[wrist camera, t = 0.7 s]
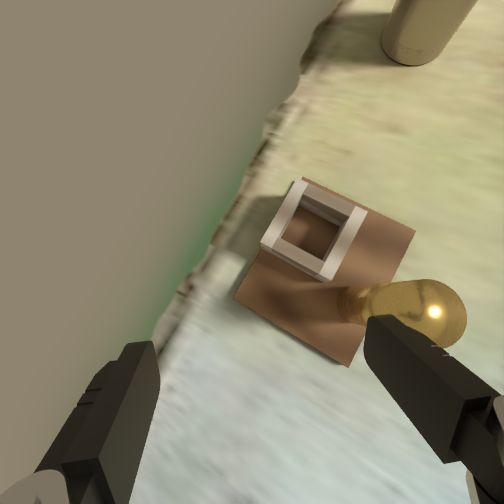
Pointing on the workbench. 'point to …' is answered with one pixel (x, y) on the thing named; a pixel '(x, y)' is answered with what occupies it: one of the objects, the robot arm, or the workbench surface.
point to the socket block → (321, 265)
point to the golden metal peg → (409, 307)
